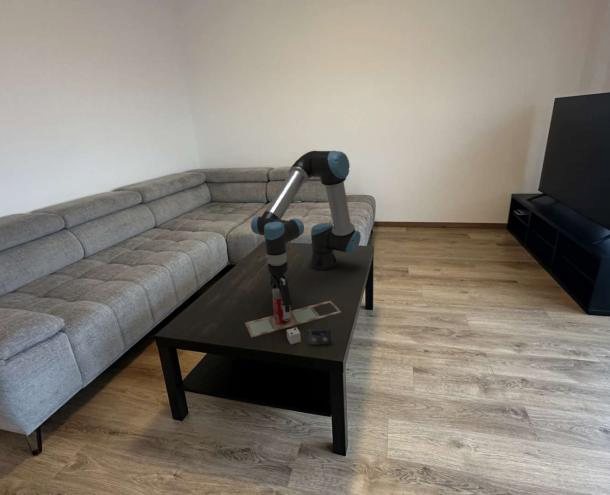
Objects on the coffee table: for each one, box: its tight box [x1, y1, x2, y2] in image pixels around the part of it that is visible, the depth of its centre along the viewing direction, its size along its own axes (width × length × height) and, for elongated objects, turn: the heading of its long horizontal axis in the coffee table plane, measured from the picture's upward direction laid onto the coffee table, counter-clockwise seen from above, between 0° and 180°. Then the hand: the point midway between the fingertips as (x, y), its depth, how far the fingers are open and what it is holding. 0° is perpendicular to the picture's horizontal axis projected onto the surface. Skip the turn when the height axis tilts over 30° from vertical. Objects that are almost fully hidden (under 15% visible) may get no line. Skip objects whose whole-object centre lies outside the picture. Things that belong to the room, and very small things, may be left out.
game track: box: [244, 300, 342, 338], centre depth 147 cm, size 39×10×1 cm, turn 111°
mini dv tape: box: [307, 328, 332, 346], centre depth 129 cm, size 8×2×6 cm, turn 87°
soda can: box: [272, 291, 292, 324], centre depth 143 cm, size 7×7×12 cm
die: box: [286, 326, 302, 345], centre depth 132 cm, size 4×4×4 cm
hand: (282, 309), depth 143 cm, fingers open, 13 cm apart
